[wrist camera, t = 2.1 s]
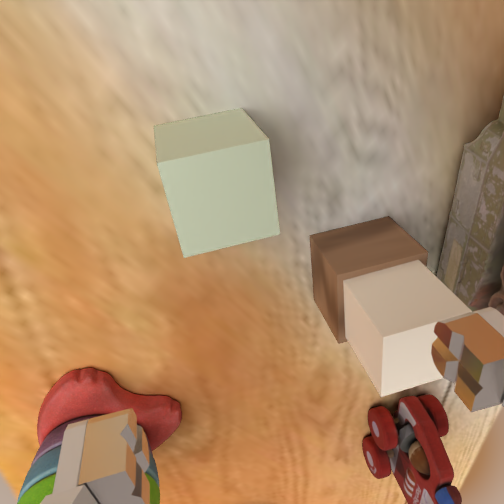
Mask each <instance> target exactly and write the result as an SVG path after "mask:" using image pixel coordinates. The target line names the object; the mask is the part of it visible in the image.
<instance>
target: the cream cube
mask: <svg viewBox="0 0 504 504" xmlns="http://www.w3.org/2000/svg"><path fill="white" fill-rule="evenodd" d="M343 286H344V312H345V337H346V339H347V341H348V342H349V344H350V346H351V347H352V349H353V351H354V352H355V354H356V356H357V357H358V359H359V361H360V363H361V364H362V366H363V368H364V369H365V371H366V373H367V374H368V376H369V378H370V379H371V381H372V383H373V385H374V386H375V388H376V390H377V391H378V393H379V395H380V396H381V397H383V396H386V395H390V394H393V393H396V392H399V391H403V390H406V389H409V388H412V387H415V386H419V385H422V384H425V383H428V382H432V381H435V380H438V379H441V378H443V376H442V375H441V374H440V372H439V371H438V370H437V368H436V366H435V364H434V362H433V358H432V355H431V349H432V343H433V342H434V341H435V340H436V339H437V336H436V334H435V333H434V328H435V325H436V323H437V322H438V321H442V320H445V319H449V318H452V317H455V316H459V315H462V314H465V313H469V312H472V311H471V310H470V309H469V308H468V307H467V306H466V305H465V304H464V303H463V302H462V301H461V300H460V299H459V298H458V297H457V296H456V295H455V294H454V293H453V292H452V291H451V290H450V289H448V288H447V287H446V286H445V285H444V284H443V283H442V282H441V281H440V280H439V279H438V278H437V277H436V276H435V275H434V274H433V273H432V272H431V271H430V270H429V269H428V268H427V267H426V266H425V265H424V264H422V263H421V262H420V261H419V260H415V261H412V262H408V263H405V264H401V265H397V266H394V267H390V268H387V269H383V270H379V271H376V272H372V273H369V274H365V275H361V276H358V277H354V278H350V279H347V280H343Z"/></svg>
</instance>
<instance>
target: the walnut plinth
mask: <svg viewBox="0 0 504 504" xmlns="http://www.w3.org/2000/svg"><path fill="white" fill-rule="evenodd" d="M310 247H311V263H312V278H313V293H314V301H315V302H316V304H317V306H318V308H319V309H320V311H321V313H322V315H323V317H324V318H325V320H326V322H327V324H328V326H329V327H330V329H331V331H332V333H333V334H334V336H335V338H336V340H337V342H338V343H343V342H347V339H346V337H345V312H344V286H343V280H347V279H350V278H354V277H358V276H361V275H365V274H369V273H372V272H376V271H379V270H383V269H387V268H390V267H394V266H397V265H401V264H405V263H408V262H412V261H415V260H419V261H420V262H421V263H422V264H424V265H425V266H426V265H427V257H428V251H427V250H426V249H424V248H423V247H422V246H421V245H420V244H419V243H418V242H417V241H416V240H415V239H413V238H412V237H411V236H410V235H409V234H408V233H407V232H406V231H405V230H403V229H402V228H401V227H400V226H399V225H398V224H397V223H396V222H395V221H393V220H392V219H391V218H390V217H389V216H388V217H383V218H379V219H375V220H371V221H367V222H363V223H359V224H355V225H351V226H347V227H342V228H338V229H334V230H330V231H326V232H322V233H318V234H314V235H310Z"/></svg>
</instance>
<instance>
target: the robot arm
mask: <svg viewBox="0 0 504 504" xmlns="http://www.w3.org/2000/svg"><path fill="white" fill-rule="evenodd" d="M434 333H435V334H436V336H437V339H436V340H435V341H434V342H433V343H432V349H431V355H432V358H433V362H434V364H435V366H436V368H437V370H438V371H439V372H440V374H441V375H442V376H443V378H445V379H447V380H449V381H451V382H453V383H454V391H455V393H456V394H457V395H458V396H459V398H460V399H461V400H462V401H463V403H464V404H465V405H466V406H467V408H468V409H469V410H470V411H471V412H474V411H477V410H481V409H485V408H488V407H492V406H495V405H499V404H502V406H503V407H504V316H503V315H502V314H501V313H500V312H499V311H498V310H496V309H494V308H492V307H488V308H485V309H481V310H477V311H474V312H469V313H465V314H462V315H459V316H455V317H452V318H449V319H445V320H442V321H438V322H437V323H436V325H435V328H434ZM148 467H149V449H148V442H147V438H146V435H145V432H144V430H143V428H142V427H141V426H139V425H137V416H136V414H135V412H134V410H133V408H130V409H126V410H122V411H118V412H114V413H110V414H106V415H102V416H98V417H94V418H90V419H87V420H83V421H79V422H76V423H72V424H68V426H67V428H66V430H65V431H64V436H63V441H62V446H61V451H60V457H59V462H58V467H57V472H56V477H55V482H54V488H53V493H52V494H50V495H47V496H45V498H44V499H43V500H42V502H41V503H40V504H150V483H149V481H148V479H147V477H146V475H145V472H146V470H147V469H148Z"/></svg>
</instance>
